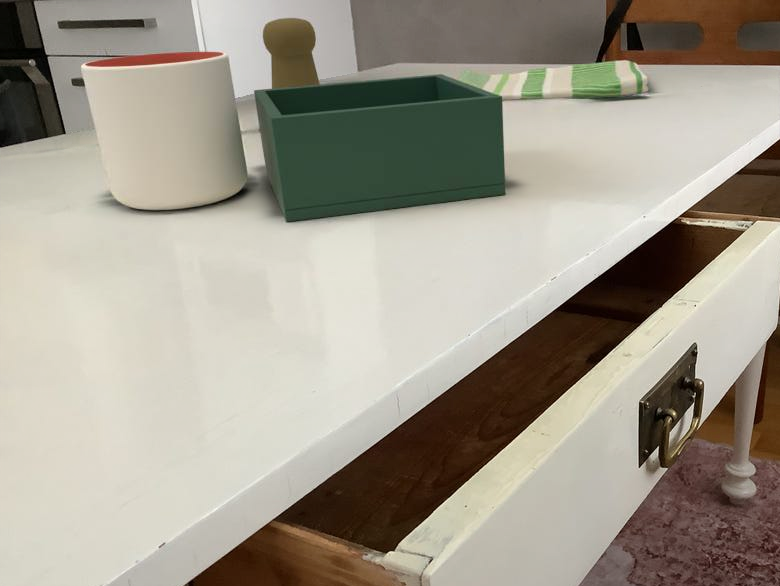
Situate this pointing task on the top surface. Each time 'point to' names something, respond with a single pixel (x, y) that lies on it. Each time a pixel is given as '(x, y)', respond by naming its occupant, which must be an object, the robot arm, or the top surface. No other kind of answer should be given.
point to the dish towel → (564, 81)
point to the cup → (167, 128)
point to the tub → (380, 144)
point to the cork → (291, 52)
